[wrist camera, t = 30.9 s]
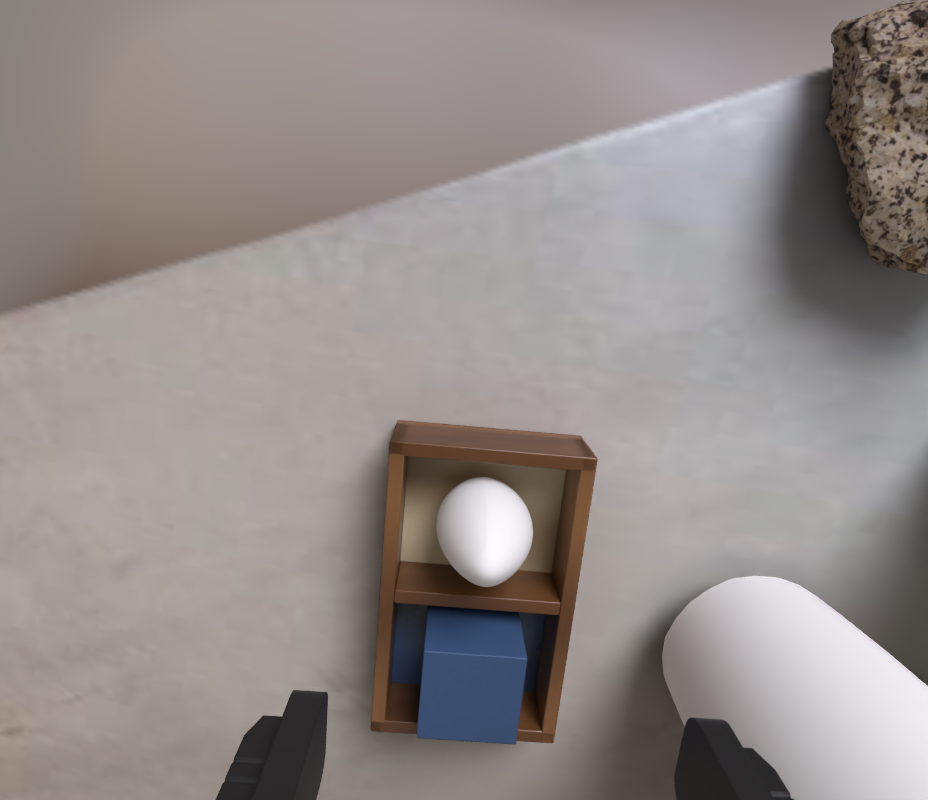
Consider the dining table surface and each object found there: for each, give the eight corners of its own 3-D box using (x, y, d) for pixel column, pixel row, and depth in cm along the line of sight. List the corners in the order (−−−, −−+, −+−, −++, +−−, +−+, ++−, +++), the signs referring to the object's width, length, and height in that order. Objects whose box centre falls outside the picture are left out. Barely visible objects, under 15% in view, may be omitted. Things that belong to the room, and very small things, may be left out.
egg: (482, 563, 25) (489, 643, 20) (420, 508, 24) (410, 576, 19) (543, 506, 24) (567, 573, 19) (481, 449, 24) (488, 501, 18)
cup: (628, 583, 26) (823, 943, 12) (808, 532, 25) (1227, 847, 12) (667, 730, 28) (875, 1187, 14) (836, 686, 27) (1224, 1113, 13)
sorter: (397, 419, 24) (389, 440, 21) (581, 435, 24) (597, 458, 22) (379, 681, 27) (370, 731, 24) (543, 693, 27) (553, 744, 24)
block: (428, 592, 25) (423, 651, 21) (516, 598, 25) (527, 658, 22) (422, 668, 26) (416, 738, 22) (507, 674, 26) (515, 745, 22)
